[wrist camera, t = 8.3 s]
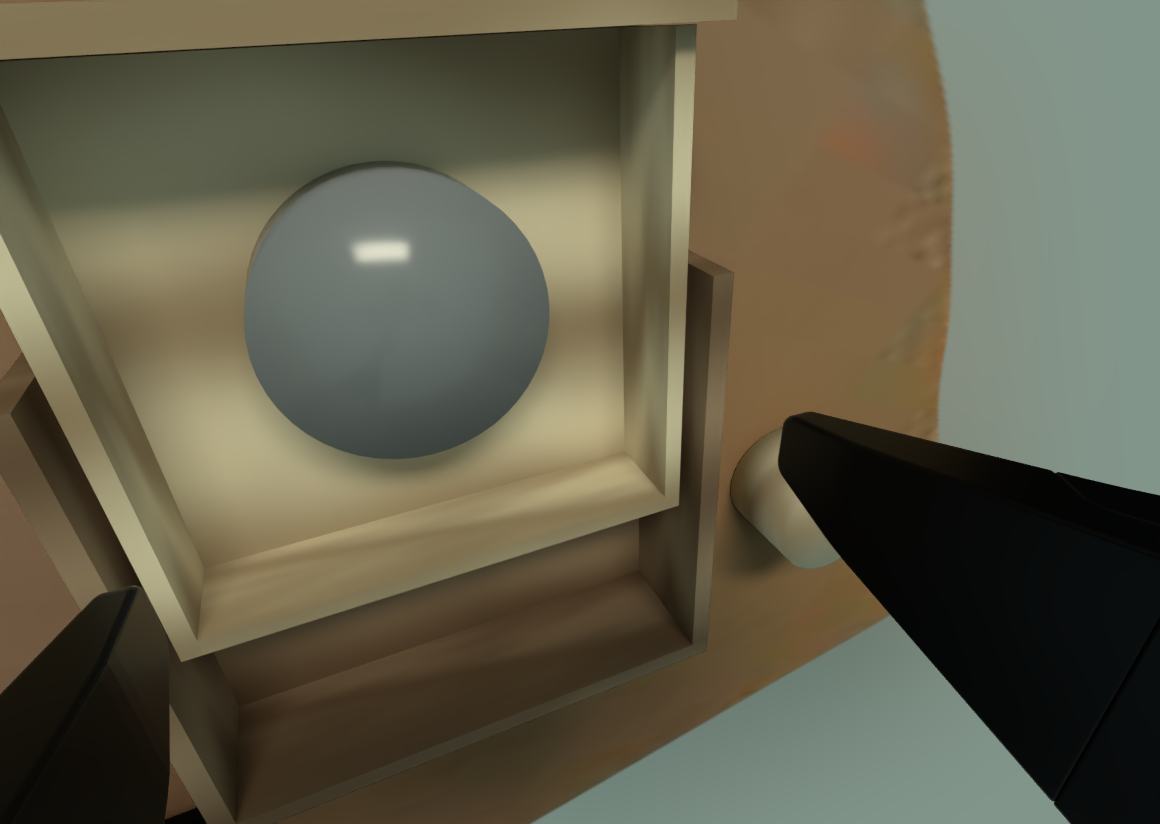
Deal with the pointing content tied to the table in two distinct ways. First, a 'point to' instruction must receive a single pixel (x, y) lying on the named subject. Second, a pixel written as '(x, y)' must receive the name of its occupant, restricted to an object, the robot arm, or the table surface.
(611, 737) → the table surface
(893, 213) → the table surface
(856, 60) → the table surface
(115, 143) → the tray
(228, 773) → the housing
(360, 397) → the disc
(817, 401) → the table surface
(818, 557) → the stand
